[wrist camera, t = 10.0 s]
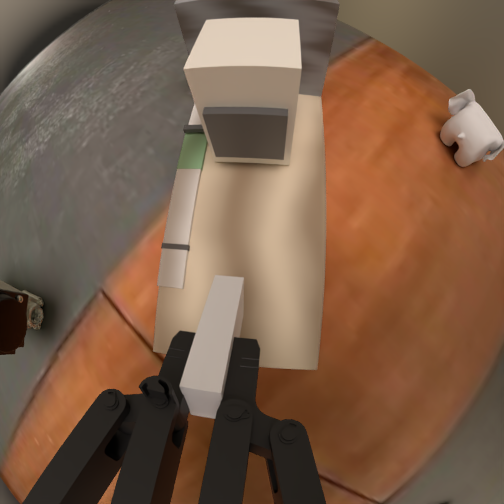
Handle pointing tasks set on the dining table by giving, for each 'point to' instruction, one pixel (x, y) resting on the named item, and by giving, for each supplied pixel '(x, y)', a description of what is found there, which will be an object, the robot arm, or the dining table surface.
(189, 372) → the robot arm
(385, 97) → the dining table surface
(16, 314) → the pneumatic valve
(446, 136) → the elephant figurine
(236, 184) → the board
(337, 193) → the dining table surface
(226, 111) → the block
